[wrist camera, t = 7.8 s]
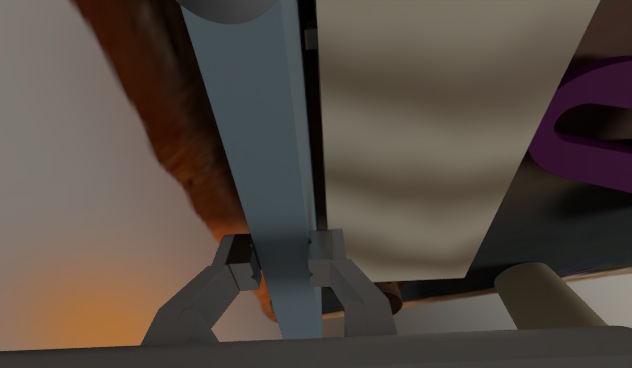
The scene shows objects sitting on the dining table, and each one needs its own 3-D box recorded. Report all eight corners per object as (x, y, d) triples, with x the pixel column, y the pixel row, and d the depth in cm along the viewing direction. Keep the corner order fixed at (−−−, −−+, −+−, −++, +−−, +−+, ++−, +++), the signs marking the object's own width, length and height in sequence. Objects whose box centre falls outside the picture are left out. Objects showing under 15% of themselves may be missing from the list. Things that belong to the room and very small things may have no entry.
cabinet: (229, -76, 15) (155, -145, 8) (509, -101, 15) (696, -197, 8) (284, 218, 30) (276, 286, 23) (426, 210, 30) (464, 277, 22)
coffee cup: (483, 297, 41) (536, 388, 32) (493, 263, 36) (560, 360, 26) (544, 289, 40) (618, 381, 31) (564, 253, 35) (662, 350, 25)
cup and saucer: (330, 233, 32) (333, 275, 27) (419, 240, 33) (438, 282, 28) (317, 285, 39) (318, 327, 34) (391, 290, 40) (403, 331, 35)
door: (216, -66, 12) (25, -206, 4) (304, -73, 12) (285, -233, 4) (284, 256, 25) (271, 366, 17) (324, 254, 25) (330, 364, 17)
